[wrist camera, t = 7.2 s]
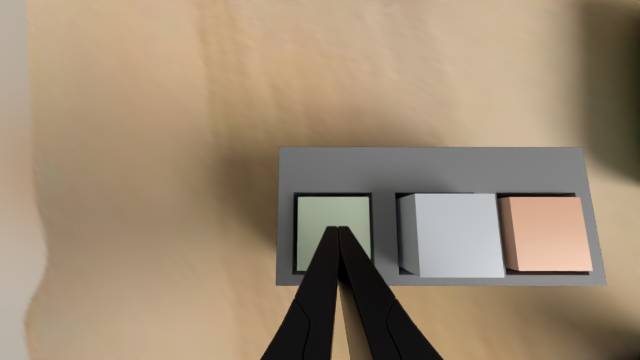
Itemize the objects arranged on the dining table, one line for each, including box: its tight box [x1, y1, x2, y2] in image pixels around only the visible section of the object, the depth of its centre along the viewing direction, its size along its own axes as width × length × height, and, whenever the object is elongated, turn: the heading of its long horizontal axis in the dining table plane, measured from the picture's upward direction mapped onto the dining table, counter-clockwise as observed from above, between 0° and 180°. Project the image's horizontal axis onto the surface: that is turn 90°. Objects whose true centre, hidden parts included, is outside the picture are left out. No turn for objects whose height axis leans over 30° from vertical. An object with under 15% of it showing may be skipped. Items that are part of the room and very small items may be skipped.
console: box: [276, 147, 607, 286], centre depth 17 cm, size 7×17×8 cm, turn 90°
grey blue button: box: [395, 194, 505, 278], centre depth 13 cm, size 4×4×4 cm
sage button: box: [297, 197, 371, 271], centre depth 14 cm, size 4×4×4 cm
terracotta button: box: [497, 197, 593, 271], centre depth 14 cm, size 4×4×4 cm
